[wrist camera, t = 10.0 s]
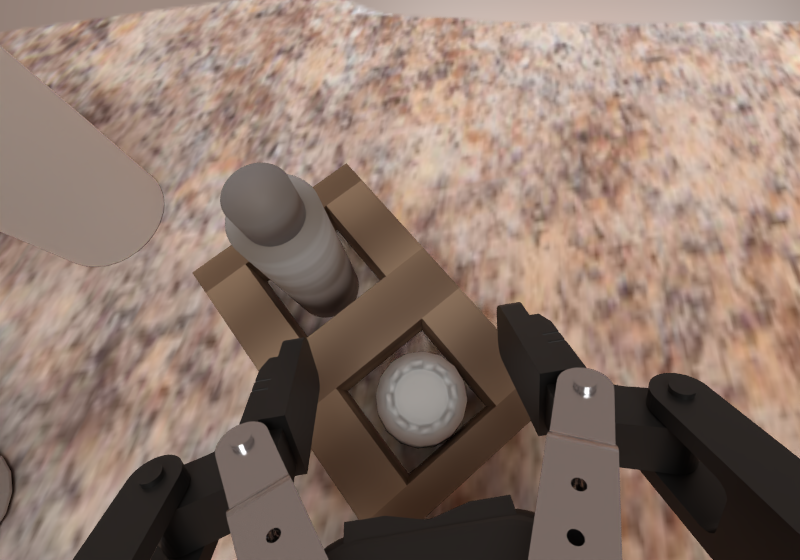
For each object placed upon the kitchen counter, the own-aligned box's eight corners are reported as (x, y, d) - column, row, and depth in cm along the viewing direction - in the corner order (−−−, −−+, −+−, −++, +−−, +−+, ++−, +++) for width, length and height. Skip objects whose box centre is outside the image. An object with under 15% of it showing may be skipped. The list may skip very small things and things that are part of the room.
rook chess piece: (381, 356, 22) (362, 326, 14) (463, 361, 22) (488, 334, 14) (374, 444, 20) (348, 462, 13) (461, 451, 20) (488, 474, 13)
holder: (220, 289, 24) (69, 199, 13) (354, 191, 25) (310, 45, 15) (389, 533, 19) (353, 672, 9) (538, 397, 21) (649, 387, 11)
